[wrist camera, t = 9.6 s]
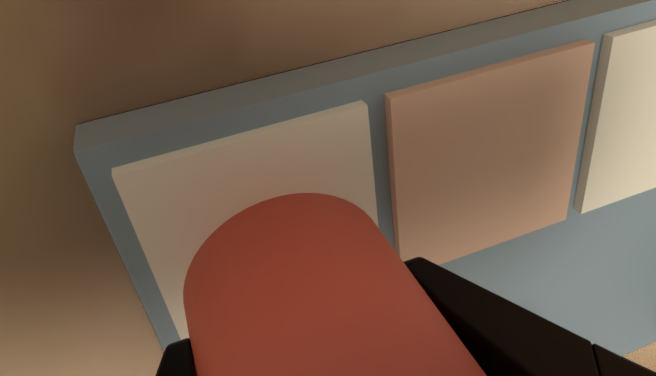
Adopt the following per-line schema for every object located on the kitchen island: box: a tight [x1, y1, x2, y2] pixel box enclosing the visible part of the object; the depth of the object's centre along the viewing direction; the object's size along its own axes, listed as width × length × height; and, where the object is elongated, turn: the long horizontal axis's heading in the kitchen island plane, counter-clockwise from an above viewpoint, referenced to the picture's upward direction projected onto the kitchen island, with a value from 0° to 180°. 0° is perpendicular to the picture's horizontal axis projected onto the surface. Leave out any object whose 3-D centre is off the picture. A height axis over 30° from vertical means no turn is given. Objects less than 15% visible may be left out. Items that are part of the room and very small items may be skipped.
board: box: [73, 0, 656, 356], centre depth 16 cm, size 14×26×2 cm, turn 97°
